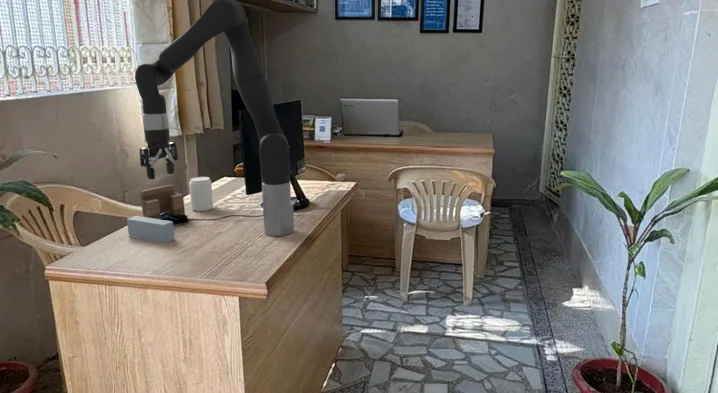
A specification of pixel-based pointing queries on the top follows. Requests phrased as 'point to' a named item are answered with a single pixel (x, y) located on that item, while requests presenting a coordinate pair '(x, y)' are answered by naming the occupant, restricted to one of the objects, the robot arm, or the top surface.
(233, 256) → the top surface
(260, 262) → the top surface
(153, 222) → the grey rectangular block
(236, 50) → the robot arm
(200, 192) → the beverage can
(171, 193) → the headboard
